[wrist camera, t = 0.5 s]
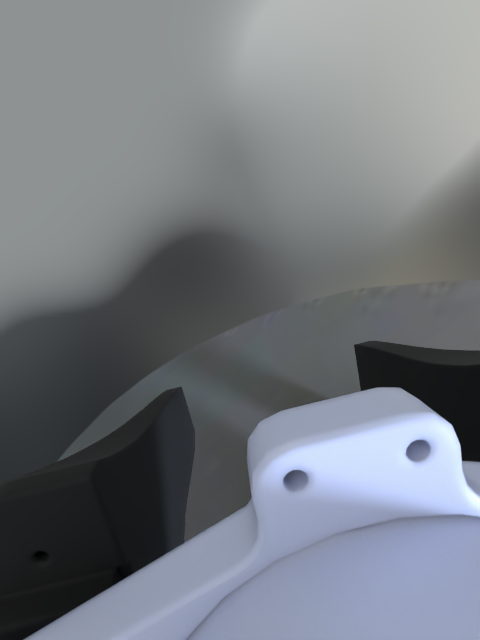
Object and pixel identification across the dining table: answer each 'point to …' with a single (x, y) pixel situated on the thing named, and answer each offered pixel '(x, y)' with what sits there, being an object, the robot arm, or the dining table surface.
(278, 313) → the dining table surface
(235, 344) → the dining table surface
